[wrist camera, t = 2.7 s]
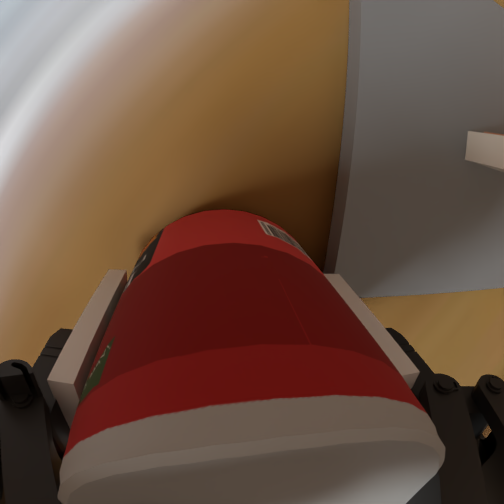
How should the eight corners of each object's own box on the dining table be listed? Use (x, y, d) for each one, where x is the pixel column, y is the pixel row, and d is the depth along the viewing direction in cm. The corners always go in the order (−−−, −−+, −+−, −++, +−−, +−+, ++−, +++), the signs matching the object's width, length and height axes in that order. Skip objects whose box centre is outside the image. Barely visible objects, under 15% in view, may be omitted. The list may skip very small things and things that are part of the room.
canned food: (123, 211, 13) (-32, 420, 2) (310, 198, 14) (516, 360, 3) (151, 357, 15) (131, 565, 5) (303, 343, 16) (388, 531, 6)
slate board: (521, 278, 18) (530, 284, 17) (320, 286, 15) (329, 298, 14) (547, 57, 12) (558, 57, 11) (348, -60, 9) (358, -70, 8)
